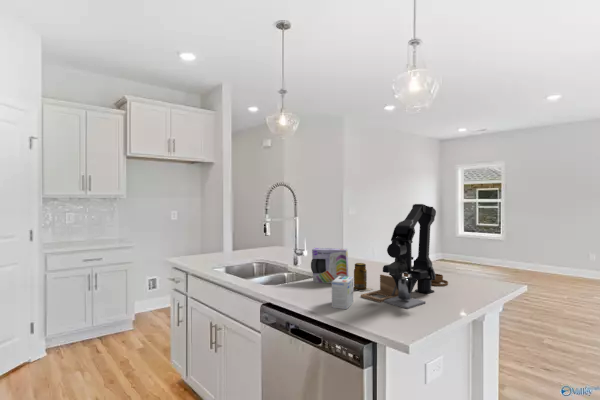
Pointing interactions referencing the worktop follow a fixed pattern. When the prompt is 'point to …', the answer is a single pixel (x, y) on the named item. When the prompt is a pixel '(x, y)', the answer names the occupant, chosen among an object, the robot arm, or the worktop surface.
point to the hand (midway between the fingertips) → (404, 292)
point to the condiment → (360, 277)
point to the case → (384, 289)
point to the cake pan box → (329, 264)
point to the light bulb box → (342, 292)
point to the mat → (404, 302)
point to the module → (403, 289)
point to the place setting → (436, 280)
